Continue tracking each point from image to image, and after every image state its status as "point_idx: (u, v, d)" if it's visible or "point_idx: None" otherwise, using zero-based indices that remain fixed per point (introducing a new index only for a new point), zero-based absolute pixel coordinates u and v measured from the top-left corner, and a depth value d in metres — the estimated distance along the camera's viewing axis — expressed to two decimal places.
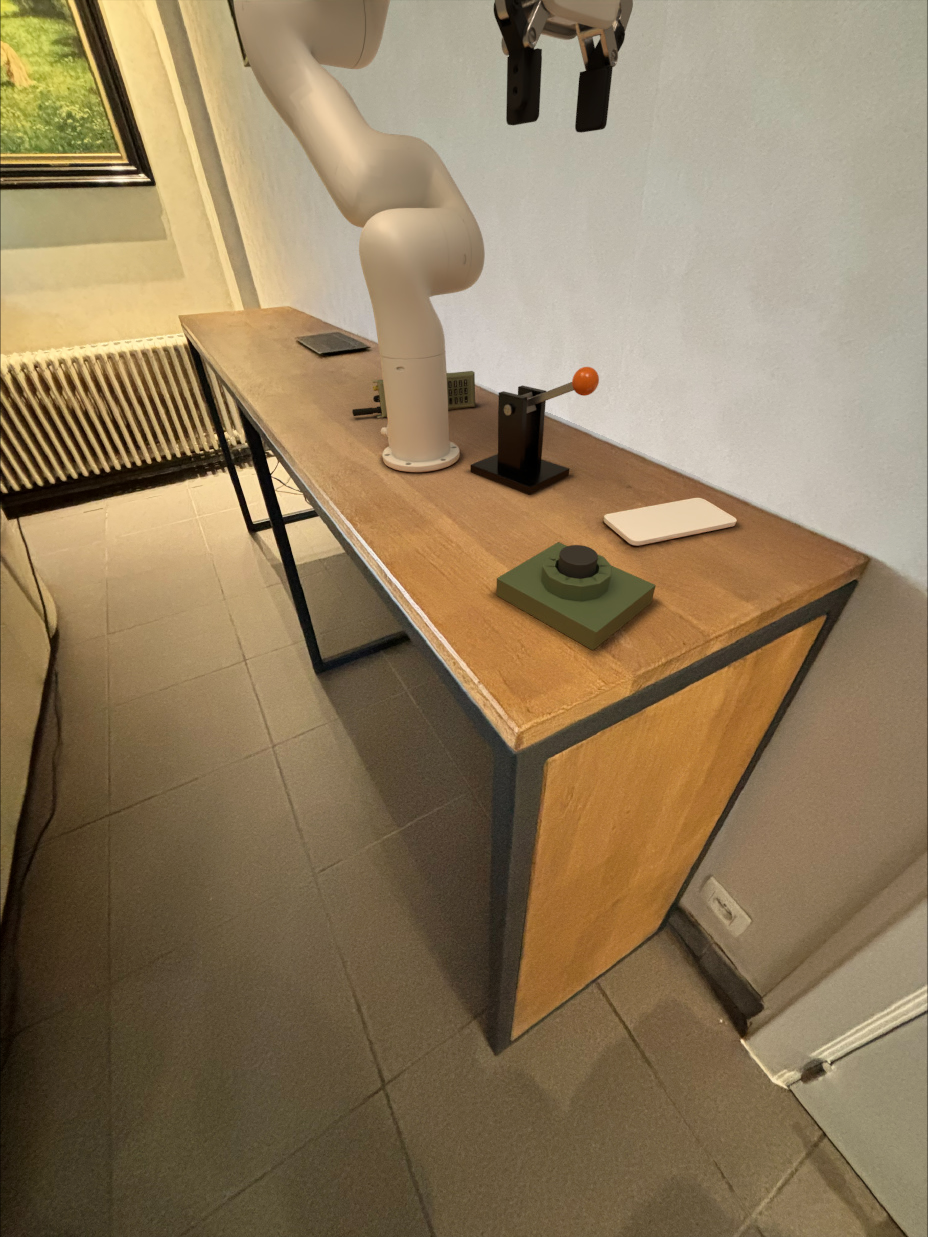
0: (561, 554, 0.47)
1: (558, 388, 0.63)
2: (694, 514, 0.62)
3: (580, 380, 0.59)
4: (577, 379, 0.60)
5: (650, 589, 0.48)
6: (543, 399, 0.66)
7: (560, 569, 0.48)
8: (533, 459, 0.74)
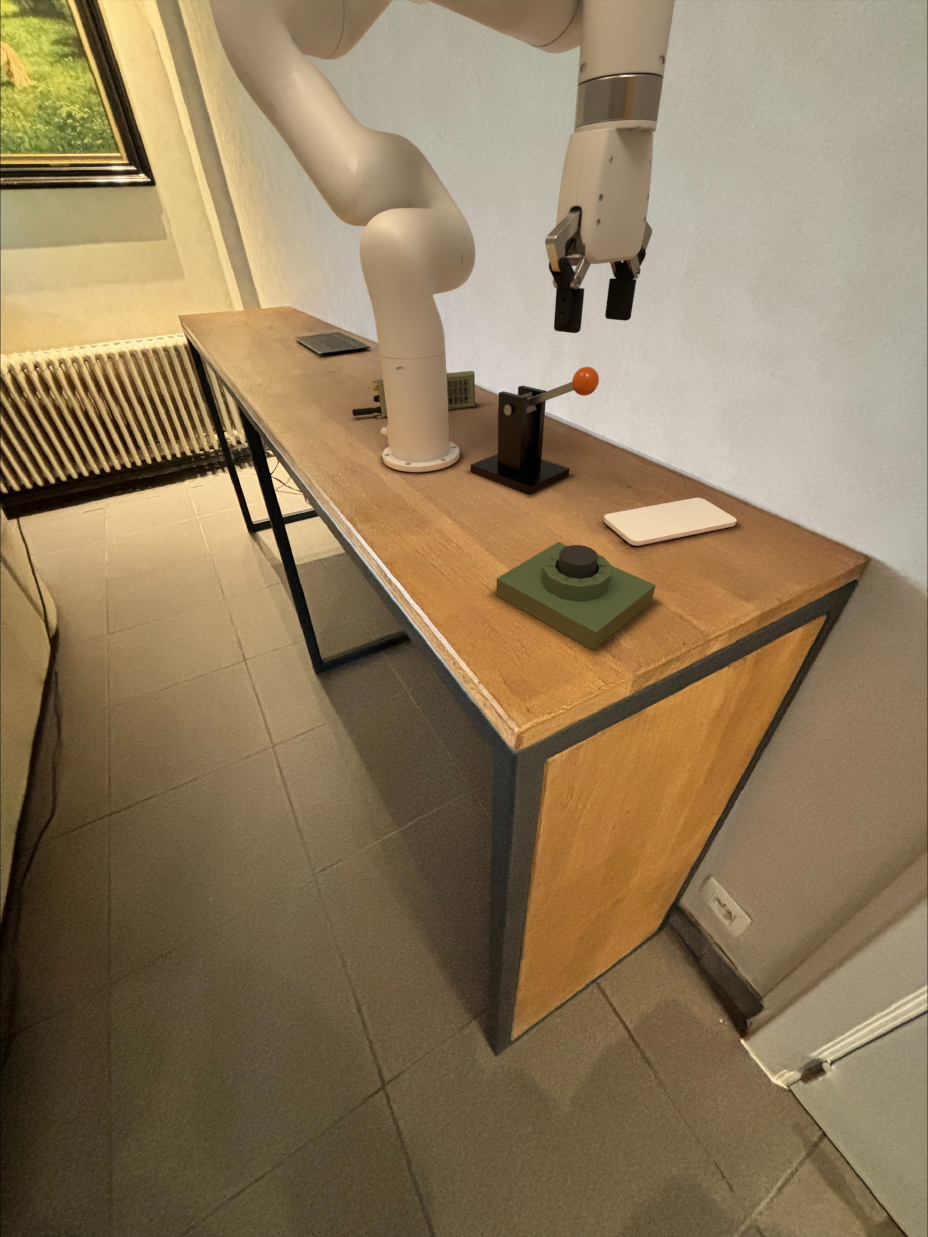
0: (561, 554, 0.47)
1: (558, 388, 0.63)
2: (694, 514, 0.62)
3: (580, 380, 0.59)
4: (577, 379, 0.60)
5: (650, 589, 0.48)
6: (543, 399, 0.66)
7: (560, 569, 0.48)
8: (533, 459, 0.74)
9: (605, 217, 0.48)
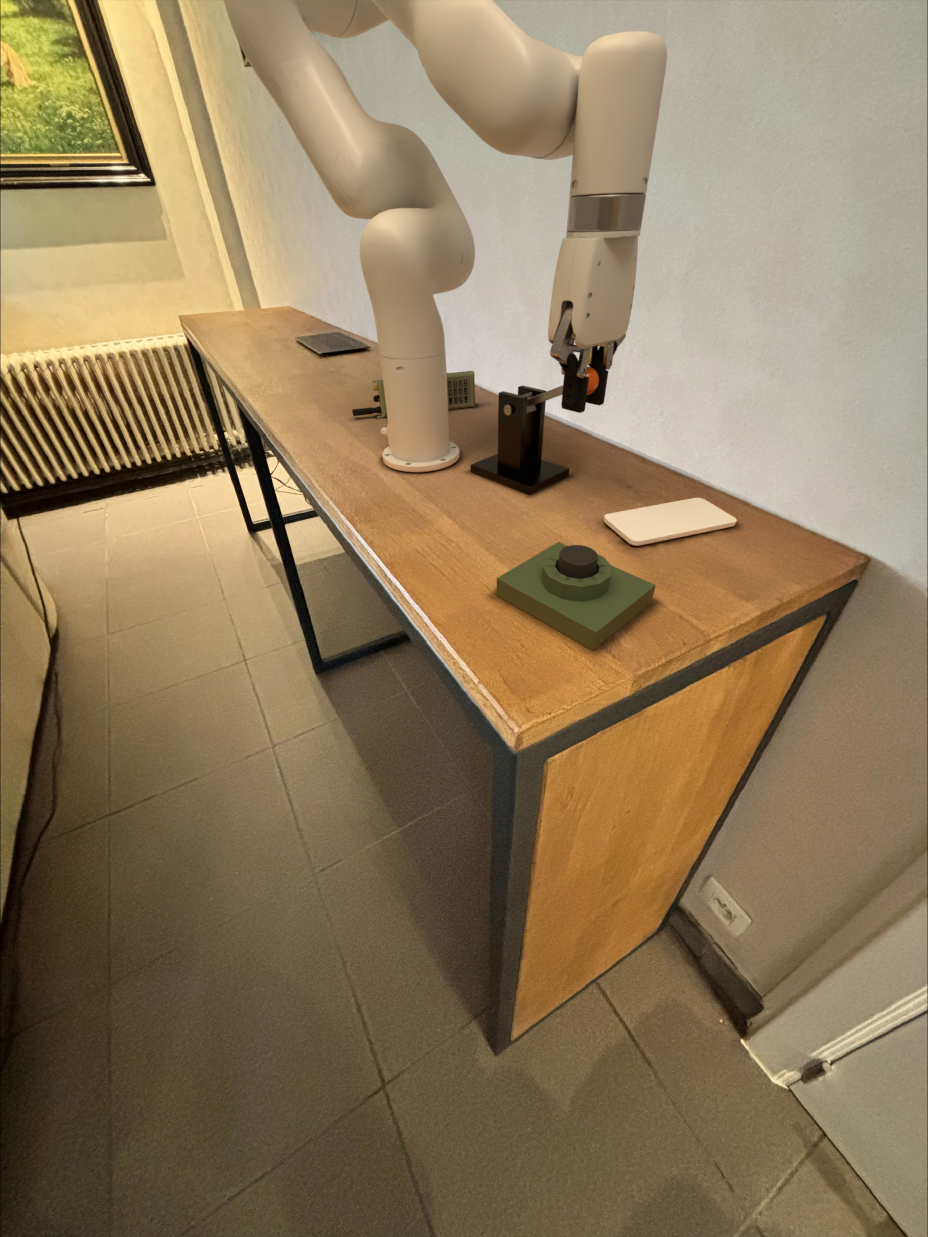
0: (561, 554, 0.47)
1: (558, 388, 0.63)
2: (694, 514, 0.62)
3: None
4: None
5: (650, 589, 0.48)
6: (543, 399, 0.66)
7: (560, 569, 0.48)
8: (533, 459, 0.74)
9: (594, 310, 0.53)
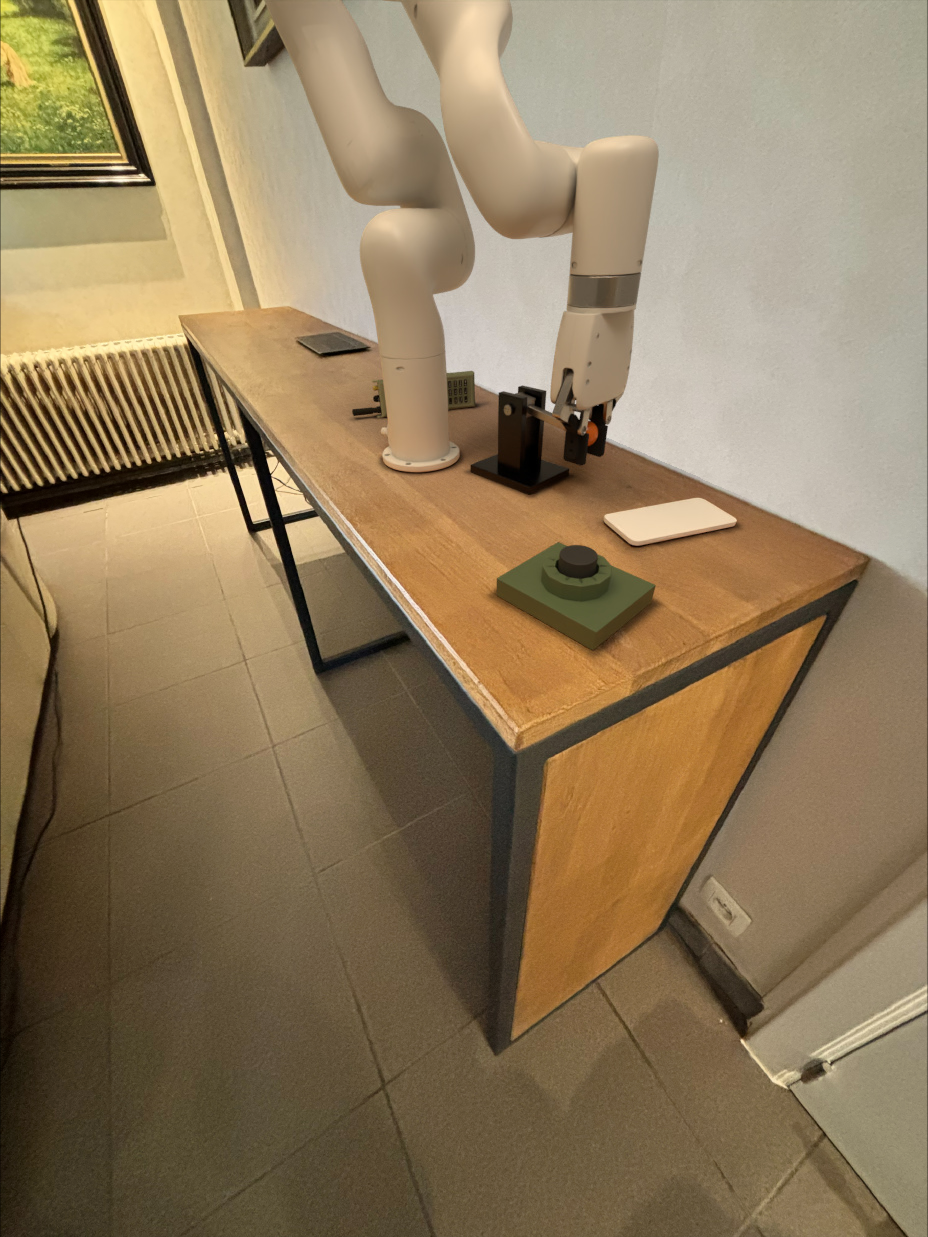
0: (561, 554, 0.47)
1: (560, 422, 0.65)
2: (694, 514, 0.62)
3: None
4: None
5: (650, 589, 0.48)
6: (543, 419, 0.67)
7: (560, 569, 0.48)
8: (533, 459, 0.74)
9: (593, 377, 0.56)
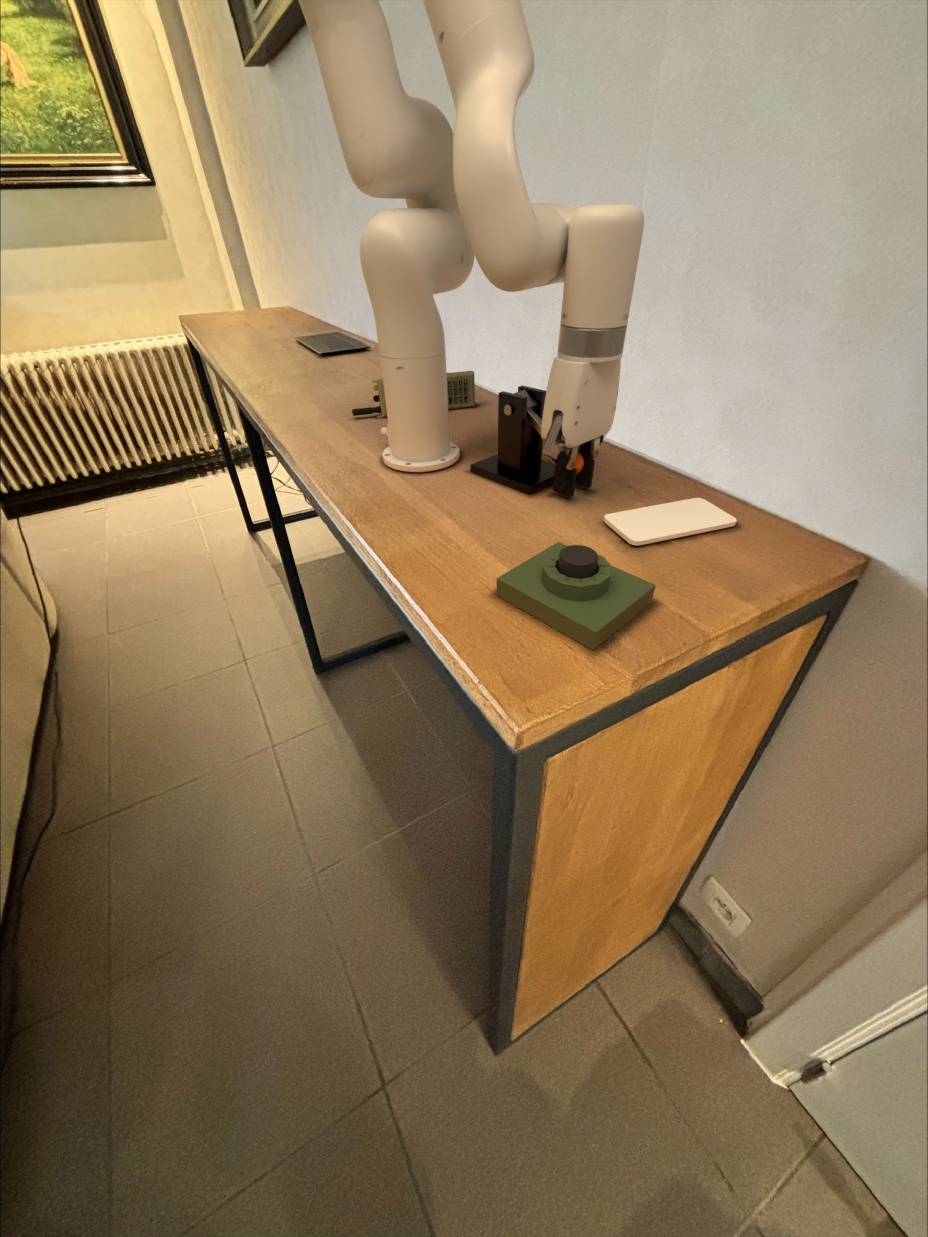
0: (561, 554, 0.47)
1: None
2: (694, 514, 0.62)
3: None
4: None
5: (650, 589, 0.48)
6: (538, 430, 0.68)
7: (560, 569, 0.48)
8: (533, 459, 0.74)
9: (581, 419, 0.60)
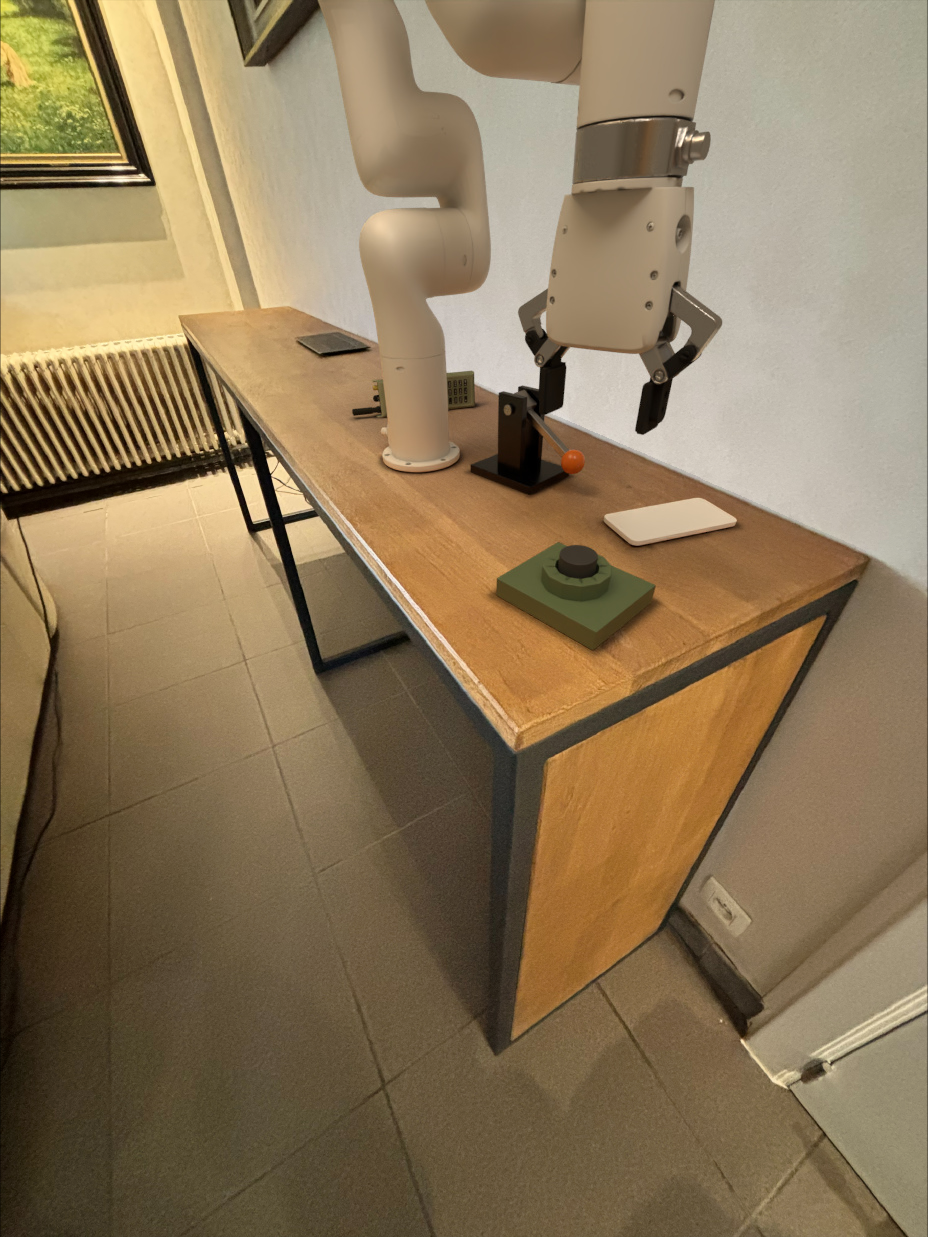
0: (561, 554, 0.47)
1: (553, 441, 0.67)
2: (694, 514, 0.62)
3: (569, 466, 0.66)
4: (568, 462, 0.66)
5: (650, 589, 0.48)
6: (538, 430, 0.68)
7: (560, 569, 0.48)
8: (533, 459, 0.74)
9: (561, 295, 0.39)
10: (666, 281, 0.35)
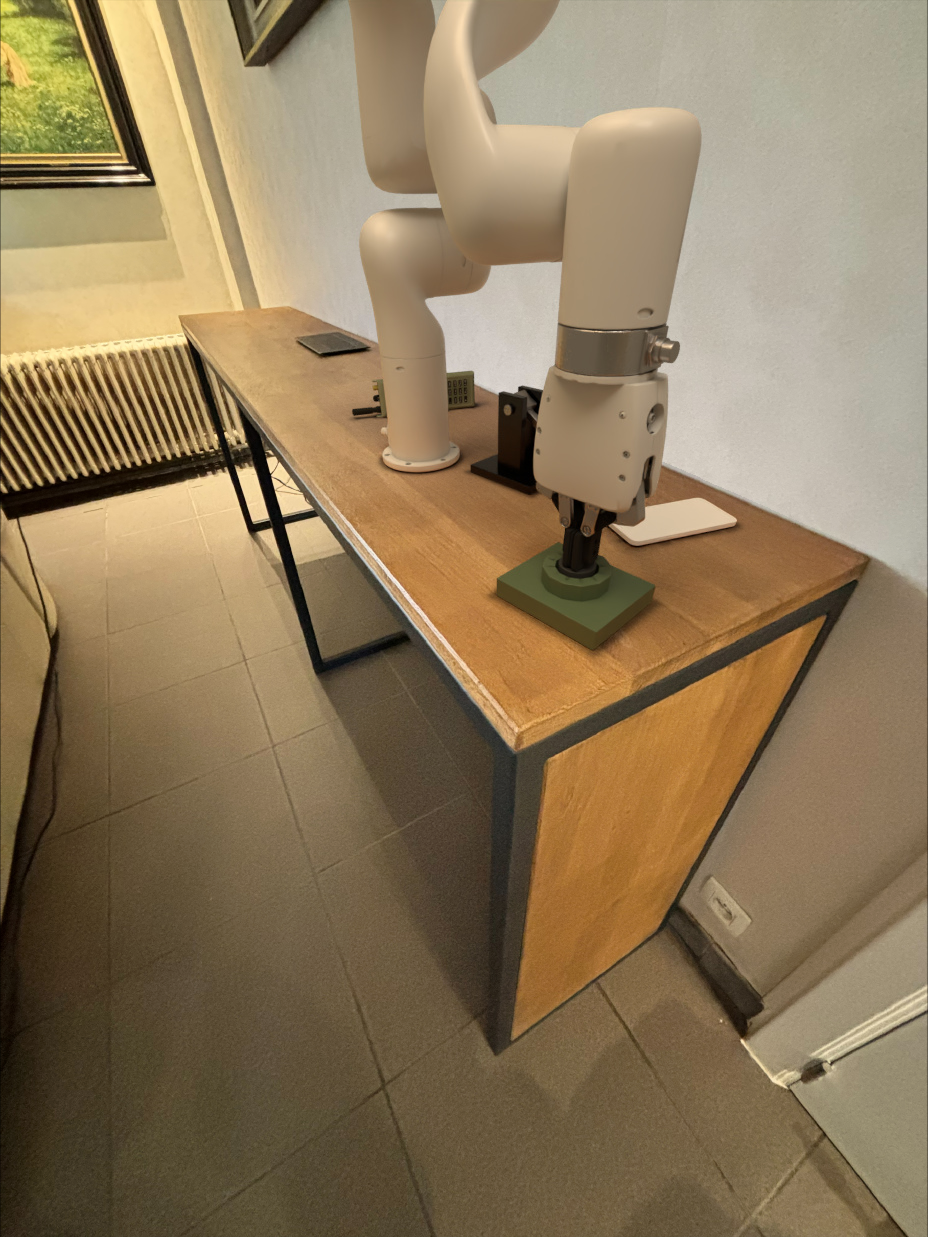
0: (560, 562, 0.48)
1: None
2: (694, 514, 0.62)
3: None
4: None
5: (650, 589, 0.48)
6: None
7: None
8: None
9: (545, 450, 0.42)
10: (638, 460, 0.37)
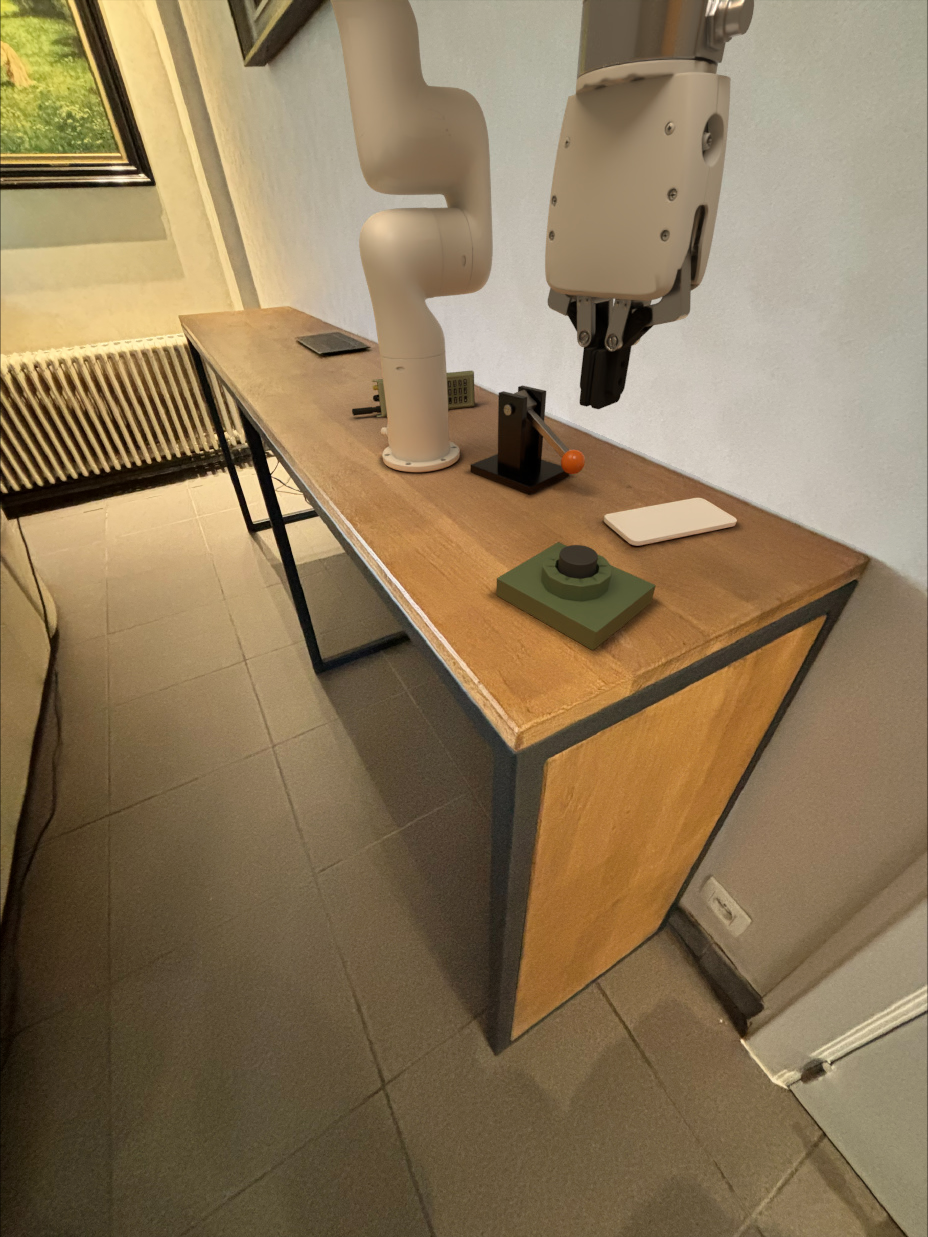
0: (561, 554, 0.47)
1: (553, 441, 0.67)
2: (694, 514, 0.62)
3: (569, 466, 0.66)
4: (568, 462, 0.66)
5: (650, 589, 0.48)
6: (538, 430, 0.68)
7: (560, 569, 0.48)
8: (533, 459, 0.74)
9: (561, 229, 0.33)
10: (688, 202, 0.28)
